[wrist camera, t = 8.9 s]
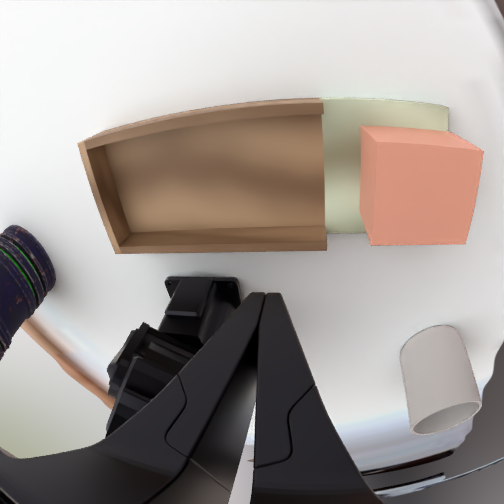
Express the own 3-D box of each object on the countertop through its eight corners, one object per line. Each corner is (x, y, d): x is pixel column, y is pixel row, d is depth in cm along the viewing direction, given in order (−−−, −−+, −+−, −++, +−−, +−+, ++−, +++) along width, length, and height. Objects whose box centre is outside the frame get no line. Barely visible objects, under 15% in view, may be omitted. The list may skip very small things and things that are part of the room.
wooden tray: (429, 225, 18) (444, 248, 16) (133, 232, 23) (115, 253, 20) (441, 105, 14) (464, 113, 11) (102, 131, 18) (77, 143, 16)
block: (441, 211, 17) (465, 244, 13) (359, 210, 18) (370, 245, 15) (450, 131, 14) (483, 151, 10) (360, 125, 15) (376, 141, 12)
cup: (453, 312, 23) (480, 391, 16) (465, 357, 26) (483, 420, 19) (389, 343, 26) (401, 423, 19) (414, 380, 30) (423, 444, 22)
